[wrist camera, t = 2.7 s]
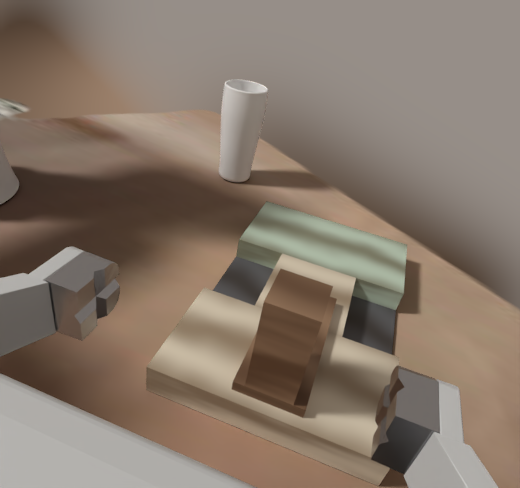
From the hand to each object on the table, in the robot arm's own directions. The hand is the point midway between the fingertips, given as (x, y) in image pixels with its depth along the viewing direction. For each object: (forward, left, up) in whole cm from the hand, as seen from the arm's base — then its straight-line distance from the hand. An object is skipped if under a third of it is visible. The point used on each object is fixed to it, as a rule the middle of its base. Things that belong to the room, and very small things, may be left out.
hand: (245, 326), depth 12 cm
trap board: (+19, +20, -23) cm, 36 cm away
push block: (+13, +14, -20) cm, 28 cm away
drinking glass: (+23, +52, -23) cm, 61 cm away
